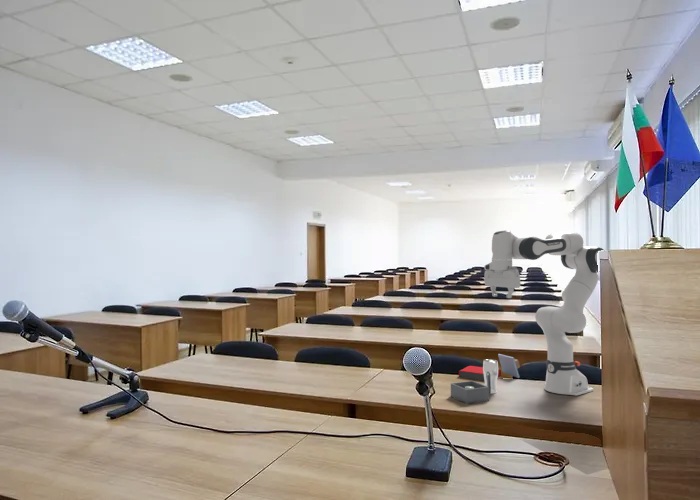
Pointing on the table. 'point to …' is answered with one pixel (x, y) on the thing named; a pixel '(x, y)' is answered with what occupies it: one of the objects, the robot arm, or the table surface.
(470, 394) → the bin
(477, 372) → the red device housing
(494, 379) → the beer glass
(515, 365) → the lid
